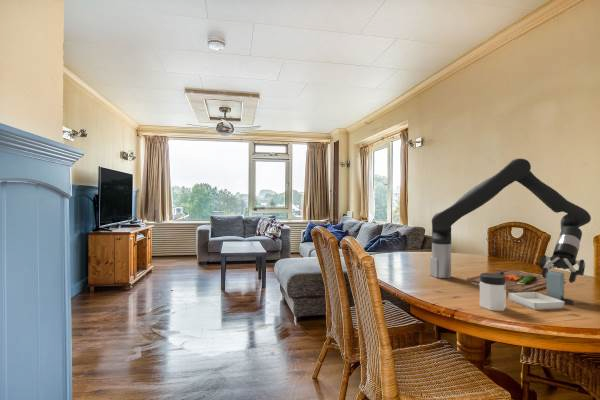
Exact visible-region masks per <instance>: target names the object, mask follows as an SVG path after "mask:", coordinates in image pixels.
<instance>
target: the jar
mask: <svg viewBox="0 0 600 400" xmlns="http://www.w3.org/2000/svg"><path fill="white" fill-rule="evenodd" d="M479 276H480V285H479V307H481V308H483V309H486V310H489V311H496V312H505V310H506V308H507V306H506V305H507V292H506V283H505V276H503V275H500V274H495V273H494V272H482V273H480V275H479Z"/></svg>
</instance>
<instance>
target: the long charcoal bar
mask: <svg viewBox="0 0 600 400" xmlns="http://www.w3.org/2000/svg"><path fill="white" fill-rule="evenodd" d="M539 293H540V292H539ZM540 294H543V295H546V296H547V293H546V294H545V293H540ZM561 301H564V302H565V304H566V303H567V305H574V301H575V300H574V299H570V298H565V297H564V298H561Z"/></svg>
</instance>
